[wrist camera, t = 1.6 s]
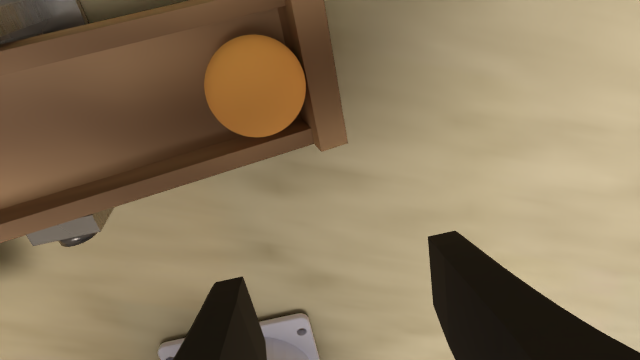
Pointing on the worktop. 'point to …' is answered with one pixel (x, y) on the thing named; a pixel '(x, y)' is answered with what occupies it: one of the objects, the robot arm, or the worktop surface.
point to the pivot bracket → (33, 20)
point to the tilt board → (143, 107)
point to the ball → (255, 85)
